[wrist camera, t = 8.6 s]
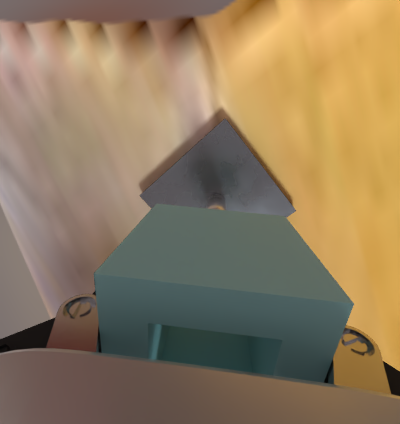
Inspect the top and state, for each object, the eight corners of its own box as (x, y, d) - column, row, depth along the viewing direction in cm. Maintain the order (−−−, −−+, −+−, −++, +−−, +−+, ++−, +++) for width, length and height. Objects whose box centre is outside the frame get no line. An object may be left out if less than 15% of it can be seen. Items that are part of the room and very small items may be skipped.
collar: (262, 317, 13) (294, 456, 7) (155, 304, 13) (109, 428, 8) (284, 216, 11) (353, 304, 5) (156, 203, 11) (93, 273, 6)
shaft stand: (209, 265, 28) (206, 305, 21) (142, 193, 25) (115, 213, 19) (293, 207, 25) (320, 234, 18) (224, 119, 22) (227, 112, 16)
